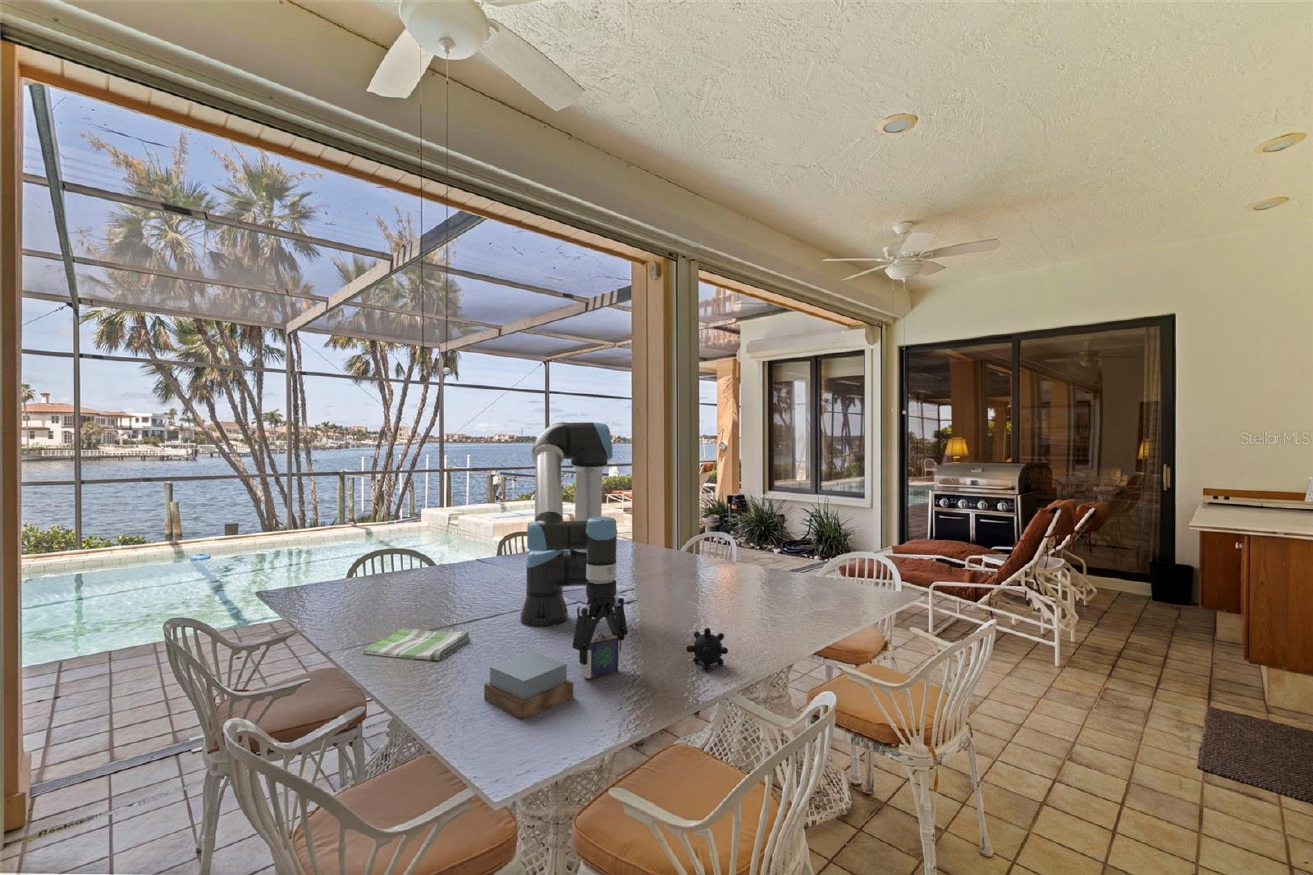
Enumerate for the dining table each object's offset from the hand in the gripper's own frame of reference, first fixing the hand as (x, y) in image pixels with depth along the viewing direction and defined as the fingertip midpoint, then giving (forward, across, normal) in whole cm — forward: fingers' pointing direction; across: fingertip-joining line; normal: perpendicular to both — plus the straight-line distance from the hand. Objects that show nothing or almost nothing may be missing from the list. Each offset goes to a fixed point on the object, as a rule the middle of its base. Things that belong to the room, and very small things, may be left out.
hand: (600, 670), depth 140 cm
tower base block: (+2, -20, +2) cm, 20 cm away
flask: (+1, 0, 0) cm, 1 cm away
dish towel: (+2, -22, +52) cm, 56 cm away
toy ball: (+1, +22, -16) cm, 27 cm away
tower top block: (-2, -20, +2) cm, 20 cm away
